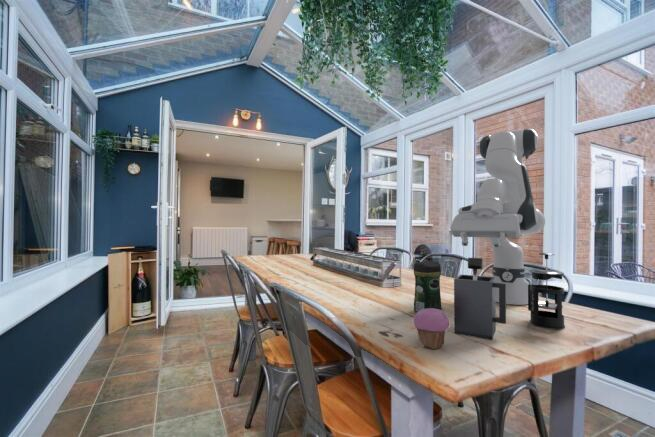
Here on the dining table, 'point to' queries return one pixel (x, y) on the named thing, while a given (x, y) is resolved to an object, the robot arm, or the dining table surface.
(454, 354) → the dining table surface
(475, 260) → the plunger
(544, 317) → the french press
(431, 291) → the coffee jar
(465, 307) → the press pot
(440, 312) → the cupcake
